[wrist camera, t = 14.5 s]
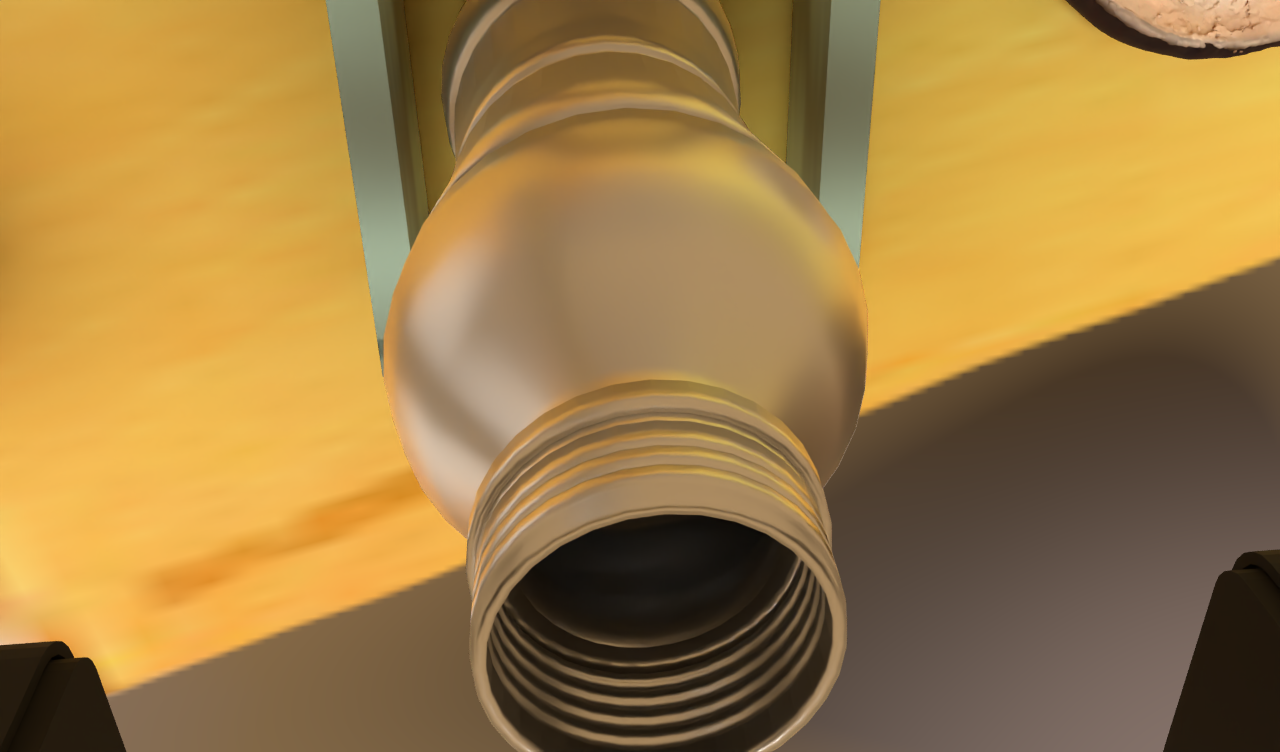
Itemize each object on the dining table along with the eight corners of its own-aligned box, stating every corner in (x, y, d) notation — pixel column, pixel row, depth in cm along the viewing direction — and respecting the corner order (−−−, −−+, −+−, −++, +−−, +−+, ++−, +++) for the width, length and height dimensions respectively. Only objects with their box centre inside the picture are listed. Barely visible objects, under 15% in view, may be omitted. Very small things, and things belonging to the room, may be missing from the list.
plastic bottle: (413, 137, 29) (230, 823, 12) (504, -143, 26) (436, 239, 9) (657, 223, 31) (806, 935, 14) (771, -31, 28) (1145, 475, 11)
